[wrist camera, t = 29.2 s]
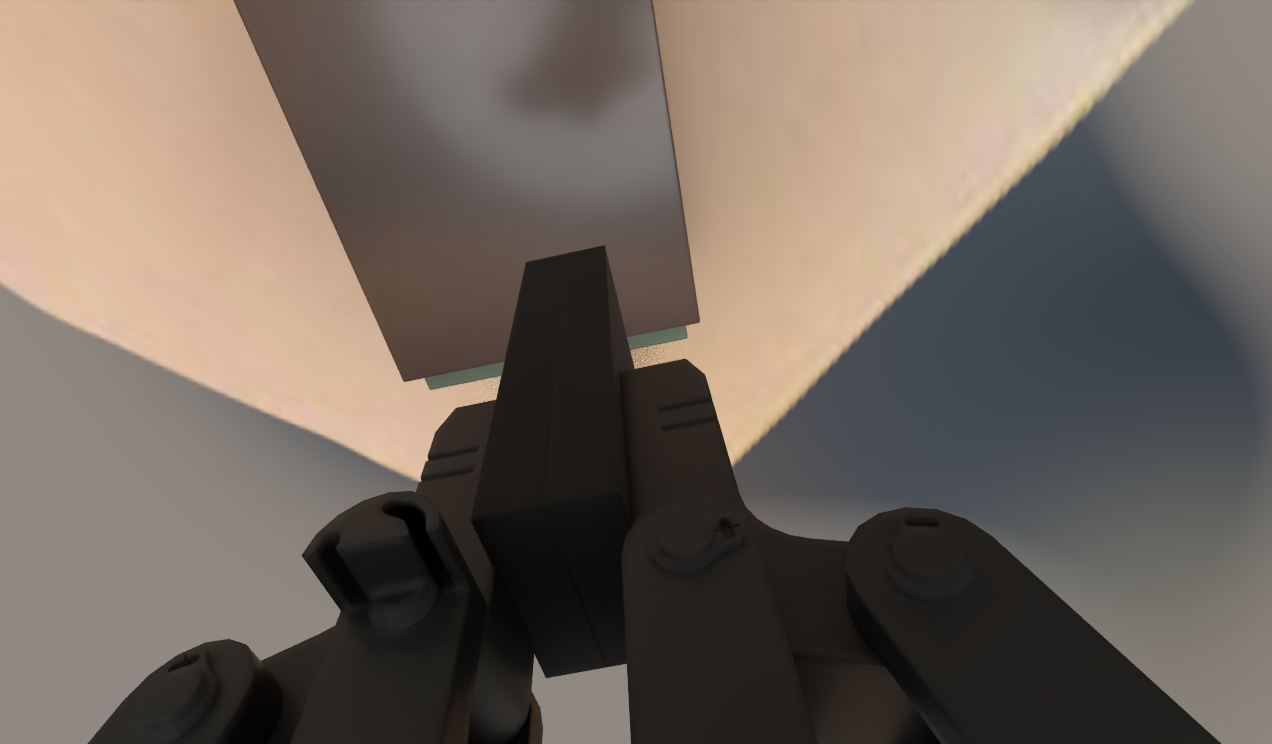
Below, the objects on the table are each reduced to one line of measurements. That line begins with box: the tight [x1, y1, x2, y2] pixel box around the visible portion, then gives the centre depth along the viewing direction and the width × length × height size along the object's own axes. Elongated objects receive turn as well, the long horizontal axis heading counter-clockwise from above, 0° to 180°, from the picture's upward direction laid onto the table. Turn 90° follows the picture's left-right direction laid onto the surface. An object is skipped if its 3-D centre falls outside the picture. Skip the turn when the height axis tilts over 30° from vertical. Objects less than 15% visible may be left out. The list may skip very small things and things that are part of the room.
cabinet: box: [234, 0, 700, 382], centre depth 29 cm, size 16×14×11 cm
